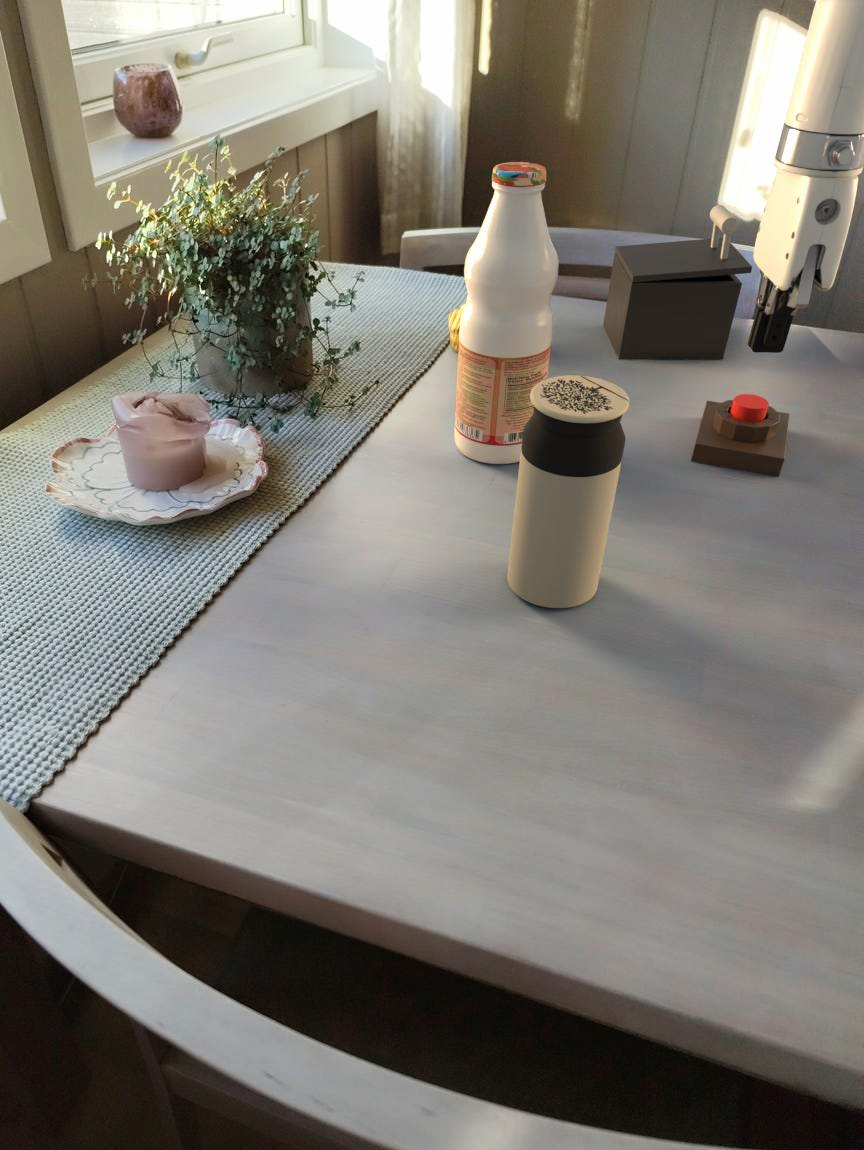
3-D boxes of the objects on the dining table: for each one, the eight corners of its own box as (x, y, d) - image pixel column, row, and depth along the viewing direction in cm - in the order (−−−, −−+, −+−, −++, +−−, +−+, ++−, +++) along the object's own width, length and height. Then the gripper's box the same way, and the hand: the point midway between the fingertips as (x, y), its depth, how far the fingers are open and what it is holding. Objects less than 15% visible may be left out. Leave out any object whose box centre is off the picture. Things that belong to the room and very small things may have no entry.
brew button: (731, 406, 99) (735, 391, 97) (765, 411, 98) (770, 396, 96) (728, 420, 96) (732, 405, 95) (763, 426, 95) (767, 411, 94)
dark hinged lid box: (700, 325, 125) (716, 253, 119) (723, 359, 117) (742, 283, 110) (603, 325, 126) (614, 252, 119) (618, 359, 117) (631, 283, 110)
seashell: (503, 380, 122) (524, 323, 121) (502, 365, 115) (524, 305, 114) (436, 357, 123) (457, 301, 122) (431, 342, 116) (453, 282, 115)
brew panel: (702, 417, 104) (710, 385, 102) (784, 431, 102) (794, 398, 99) (690, 461, 97) (699, 428, 94) (778, 477, 94) (789, 443, 91)
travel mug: (538, 621, 76) (565, 427, 64) (490, 571, 82) (507, 384, 70) (615, 596, 79) (655, 406, 67) (563, 549, 84) (592, 366, 72)
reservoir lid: (725, 243, 118) (732, 196, 115) (751, 273, 110) (760, 223, 106) (614, 252, 119) (618, 205, 115) (632, 282, 110) (636, 233, 107)
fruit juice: (443, 458, 97) (455, 176, 79) (465, 420, 104) (482, 152, 86) (529, 472, 95) (562, 184, 77) (546, 432, 102) (580, 159, 83)
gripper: (900, 170, 74) (827, 380, 86) (833, 132, 86) (777, 322, 98) (809, 170, 74) (749, 380, 86) (754, 131, 86) (708, 321, 98)
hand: (764, 349), depth 92 cm, fingers closed
